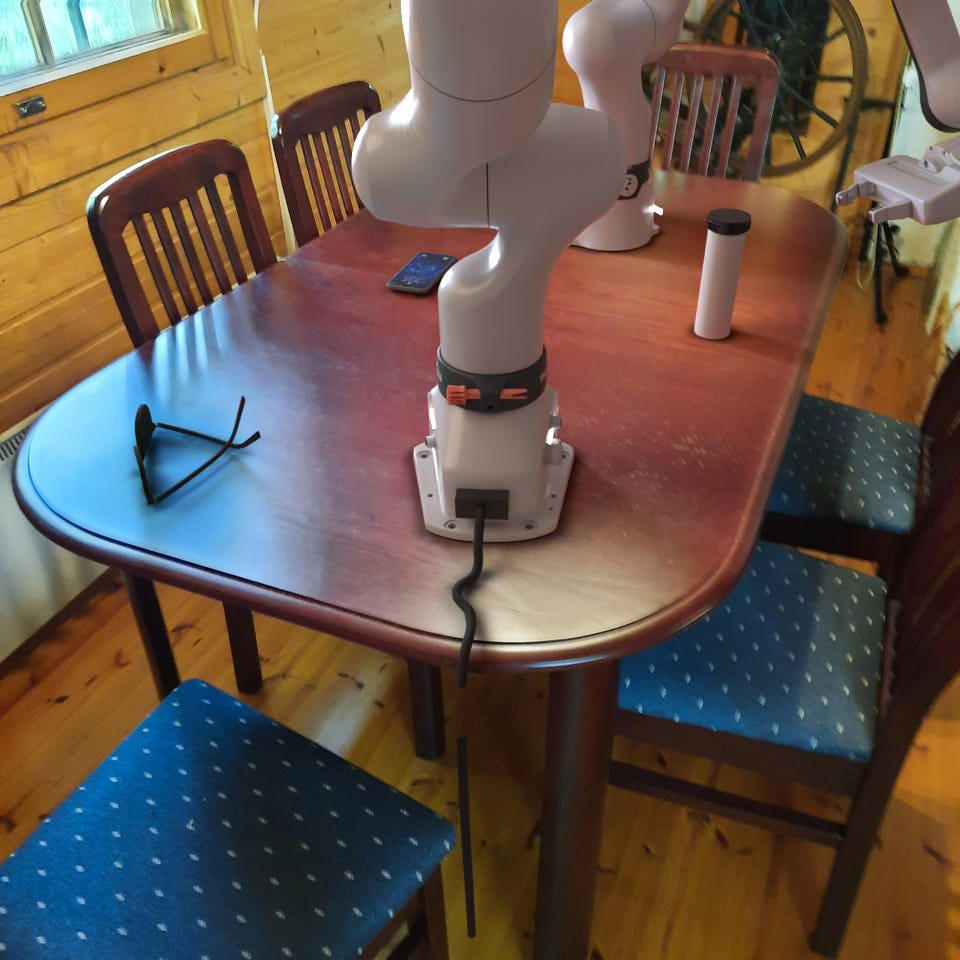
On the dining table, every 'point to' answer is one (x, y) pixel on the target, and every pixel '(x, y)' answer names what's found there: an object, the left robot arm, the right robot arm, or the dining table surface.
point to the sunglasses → (147, 427)
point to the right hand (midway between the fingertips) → (854, 208)
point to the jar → (719, 284)
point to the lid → (728, 221)
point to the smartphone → (421, 272)
